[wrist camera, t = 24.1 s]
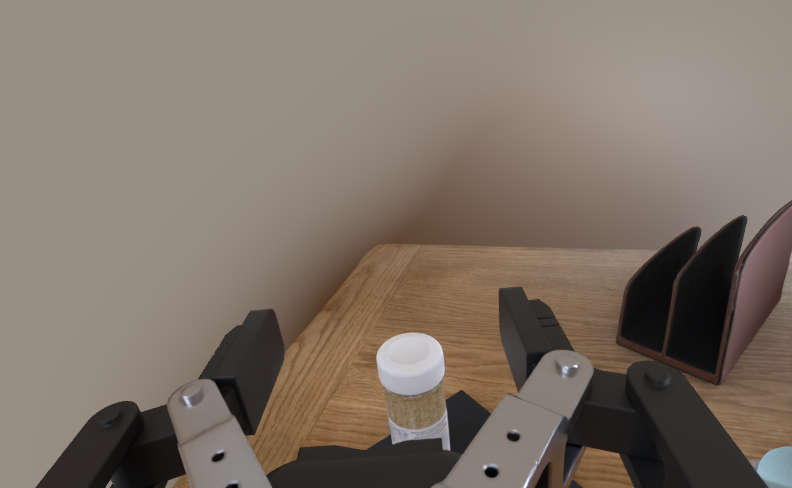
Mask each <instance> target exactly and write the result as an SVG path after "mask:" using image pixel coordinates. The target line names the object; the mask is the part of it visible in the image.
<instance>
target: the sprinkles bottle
mask: <svg viewBox="0 0 792 488" xmlns="http://www.w3.org/2000/svg"><path fill="white" fill-rule="evenodd" d="M377 367H378V373H379V378H380V381H381V383H382V384H383V387H384V392H385V398H386V404H387V414H388V420H389V426H390V432H391V438H392V444H395V443H399V442H402V441H406V440H418V439H432V438H442V446H443V450H449V451H450V440H449V428H448V418H447V409H446V401H445V392H444V384H443V378H444V372H445V367H444V358H443V351H442V348H441V346H440V344H439V343H438V341H437V340H435V339H434V338H433V337H431V336H428V335H426V334H421V333H405V334H400V335H397V336H394V337H392V338H390V339H389V340H387V341H386V342H385V343H384V344H383V345H382V346H381V347H380V349H379V350H378V353H377Z"/></svg>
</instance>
